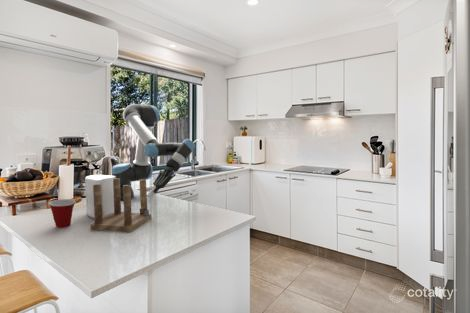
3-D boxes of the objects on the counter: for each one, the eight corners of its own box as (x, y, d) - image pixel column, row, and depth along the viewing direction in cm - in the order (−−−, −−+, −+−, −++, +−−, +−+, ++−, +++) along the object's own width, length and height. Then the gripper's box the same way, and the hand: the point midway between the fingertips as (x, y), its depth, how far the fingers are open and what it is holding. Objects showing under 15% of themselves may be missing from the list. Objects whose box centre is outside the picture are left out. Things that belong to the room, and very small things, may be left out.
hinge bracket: (144, 213, 140) (144, 207, 139) (149, 215, 136) (148, 209, 136) (139, 214, 138) (139, 208, 138) (144, 216, 134) (144, 210, 134)
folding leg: (145, 209, 139) (144, 179, 137) (148, 210, 137) (147, 179, 135) (139, 210, 137) (138, 179, 135) (142, 211, 135) (141, 180, 133)
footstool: (151, 218, 139) (150, 179, 137) (130, 232, 120) (128, 186, 118) (116, 216, 143) (114, 177, 141) (90, 229, 123) (88, 185, 121)
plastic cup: (67, 230, 122) (66, 204, 121) (44, 229, 123) (42, 204, 122) (81, 222, 133) (80, 198, 132) (60, 222, 133) (59, 198, 132)
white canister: (100, 220, 137) (98, 177, 135) (76, 218, 139) (74, 176, 137) (118, 211, 151) (117, 173, 149) (96, 210, 154) (94, 172, 152)
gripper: (186, 167, 146) (160, 203, 135) (173, 166, 155) (147, 199, 144) (178, 158, 142) (150, 195, 131) (164, 157, 151) (138, 191, 140)
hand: (149, 197), depth 138 cm, fingers closed
